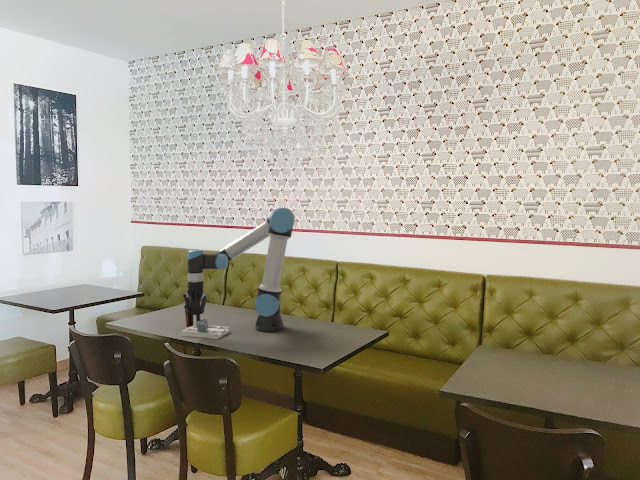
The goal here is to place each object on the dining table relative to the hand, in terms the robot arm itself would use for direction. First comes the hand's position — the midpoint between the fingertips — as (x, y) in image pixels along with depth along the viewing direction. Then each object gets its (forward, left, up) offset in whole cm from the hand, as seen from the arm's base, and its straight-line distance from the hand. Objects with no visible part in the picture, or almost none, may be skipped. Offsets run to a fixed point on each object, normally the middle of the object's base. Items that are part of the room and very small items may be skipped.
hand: (196, 327), depth 249 cm
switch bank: (-3, -4, -4) cm, 7 cm away
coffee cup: (+11, -15, -4) cm, 19 cm away
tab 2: (-4, 0, -3) cm, 4 cm away
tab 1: (+1, -8, -3) cm, 9 cm away
